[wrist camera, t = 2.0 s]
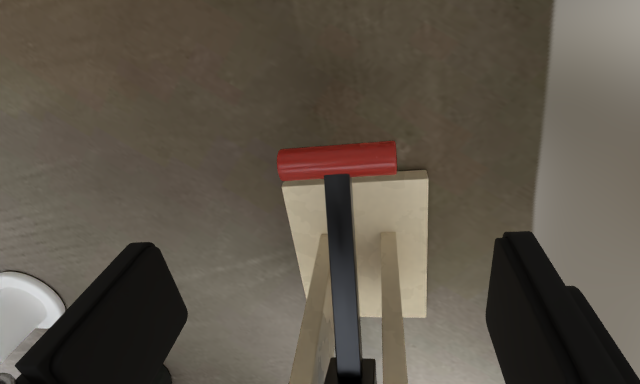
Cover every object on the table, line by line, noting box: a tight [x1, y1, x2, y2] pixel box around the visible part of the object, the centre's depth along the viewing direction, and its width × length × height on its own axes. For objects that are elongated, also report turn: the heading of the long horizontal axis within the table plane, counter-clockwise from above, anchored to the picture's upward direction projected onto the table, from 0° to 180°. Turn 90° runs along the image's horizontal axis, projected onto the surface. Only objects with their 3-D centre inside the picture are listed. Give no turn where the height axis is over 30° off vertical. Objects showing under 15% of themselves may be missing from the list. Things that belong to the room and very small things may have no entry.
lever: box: [277, 141, 397, 384], centre depth 16 cm, size 13×5×2 cm, turn 8°
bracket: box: [282, 170, 429, 384], centre depth 20 cm, size 12×9×13 cm
